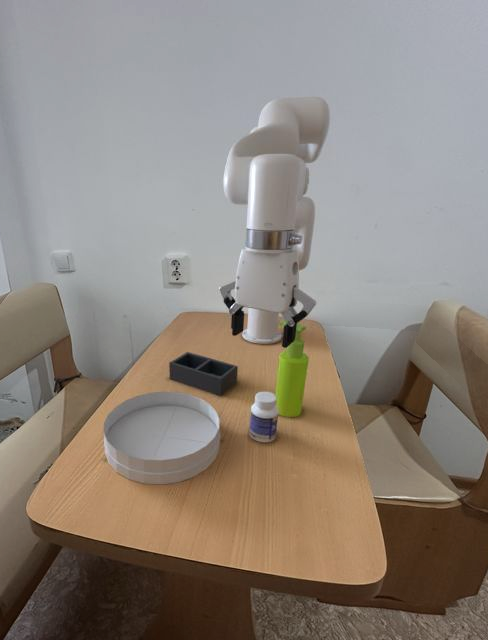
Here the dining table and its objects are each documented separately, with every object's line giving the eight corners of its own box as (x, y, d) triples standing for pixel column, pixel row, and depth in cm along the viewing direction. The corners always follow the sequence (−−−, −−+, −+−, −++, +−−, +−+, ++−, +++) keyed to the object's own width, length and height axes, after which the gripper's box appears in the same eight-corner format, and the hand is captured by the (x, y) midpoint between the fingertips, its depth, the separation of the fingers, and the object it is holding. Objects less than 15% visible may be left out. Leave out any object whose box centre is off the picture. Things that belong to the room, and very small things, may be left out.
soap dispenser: (279, 397, 87) (288, 316, 79) (306, 409, 83) (318, 325, 74) (264, 407, 83) (272, 323, 75) (291, 420, 79) (303, 332, 70)
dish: (227, 416, 80) (227, 397, 78) (209, 493, 60) (210, 470, 58) (129, 405, 84) (127, 386, 82) (83, 474, 64) (79, 451, 62)
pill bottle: (275, 444, 71) (280, 405, 68) (248, 441, 72) (251, 402, 69) (275, 428, 76) (279, 391, 73) (250, 425, 77) (252, 388, 74)
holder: (187, 367, 102) (187, 351, 100) (236, 382, 94) (237, 366, 92) (169, 378, 96) (169, 362, 94) (220, 396, 88) (221, 379, 86)
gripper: (330, 242, 58) (315, 343, 65) (233, 234, 67) (229, 324, 74) (314, 248, 53) (300, 358, 59) (211, 239, 62) (209, 335, 68)
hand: (261, 339), depth 67 cm, fingers open, 9 cm apart
